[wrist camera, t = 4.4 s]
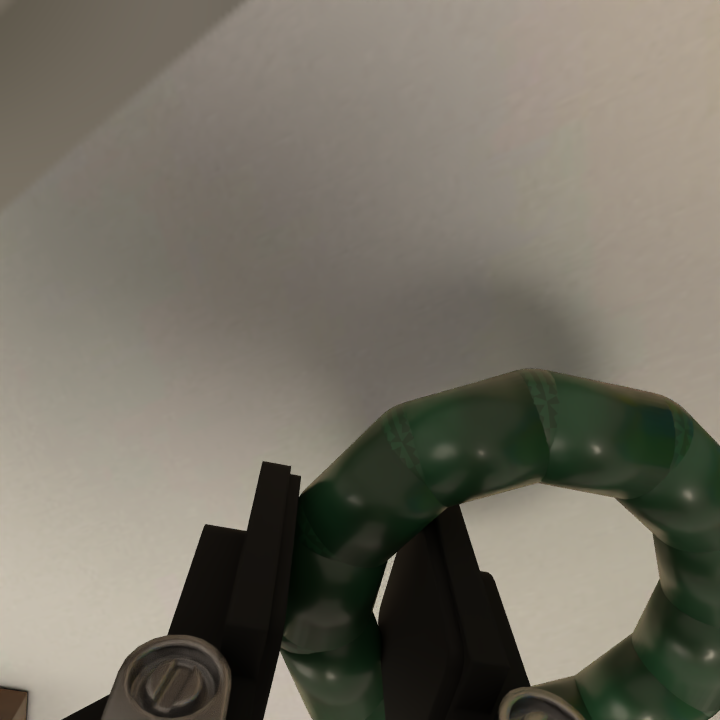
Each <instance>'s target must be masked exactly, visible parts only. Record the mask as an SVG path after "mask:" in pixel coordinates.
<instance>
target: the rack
mask: <svg viewBox="0 0 720 720" xmlns="http://www.w3.org/2000/svg"><path fill="white" fill-rule="evenodd" d="M26 705H27V693H26V692H22V691H16V690H9V689H3V688H0V720H26Z"/></svg>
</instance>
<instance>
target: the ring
mask: <svg viewBox="0 0 720 720" xmlns="http://www.w3.org/2000/svg"><path fill="white" fill-rule="evenodd" d="M535 483H541V484H546V485H551V486H557V487H562V488H567V489H572V490H578V491H583V492H588V493H593V494H598V495H604V496H609V497H614V498H615V499H617V500H618V501H619V502H620V503H621V504H622V505H623V506H624V507H625V508H626V509H627V510H628V511H630V512H631V513H632V514H633V515H634V516H635V517H636V518H637V519H638V520H639V521H640V522H642V523H643V524H644V525H645V526H646V527H647V528H648V529H649V530H650V531H651V532H652V533H653V539H654V545H655V551H656V558H657V564H658V571H659V577H660V579H659V581H658V583H657V585H656V587H655V589H654V591H653V593H652V595H651V597H650V599H649V601H648V603H647V605H646V607H645V609H644V611H643V614H642V616H641V618H640V620H639V622H638V624H637V626H636V628H635V630H634V632H633V633H632V634H631V635H629V636H628V637H627V638H625V639H624V640H622V641H621V642H620V643H618V644H617V645H616V646H614V647H613V648H612V649H610V650H609V651H608V652H606V653H605V654H603V655H602V656H601V657H599V658H598V659H597V660H595V661H594V662H593V663H591V664H590V665H589V666H587V667H586V668H584V669H583V670H582V671H580V672H579V673H578V674H576V675H575V676H571V677H567V678H562V679H558V680H554V681H550V682H546V683H542V684H538V685H534V686H531V687H535V688H539V689H542V690H545V691H549V692H551V693H553V694H555V695H557V696H558V697H560V698H562V699H564V700H566V701H567V702H568V703H569V704H570V705H572V706H573V707H574V708H575V709H577V710H578V711H579V712H580V713H581V715H582V716H583V717H584V718H585V719H586V720H708V719H709V718H711V717H713V716H714V715H715V714H716V713H717V712H718V711H719V710H720V445H719V444H718V443H717V442H716V441H715V440H714V439H713V438H712V437H711V436H710V435H709V434H708V433H707V432H706V431H705V430H704V429H703V428H702V427H701V426H700V425H699V424H698V423H697V422H696V421H695V420H694V419H693V417H692V416H691V415H690V414H689V413H688V412H687V411H686V410H685V409H684V408H682V407H681V406H680V405H679V404H677V403H676V402H674V401H672V400H671V399H669V398H667V397H665V396H662V395H659V394H655V393H652V392H647V391H642V390H638V389H633V388H628V387H624V386H619V385H614V384H610V383H605V382H600V381H595V380H591V379H586V378H581V377H577V376H572V375H567V374H562V373H558V372H553V371H548V370H543V369H534V368H530V369H521V370H516V371H513V372H509V373H506V374H502V375H499V376H495V377H492V378H488V379H485V380H481V381H478V382H474V383H471V384H467V385H464V386H460V387H457V388H454V389H450V390H447V391H443V392H440V393H436V394H433V395H429V396H426V397H422V398H419V399H415V400H412V401H408V402H405V403H402V404H399V405H397V406H395V407H393V408H391V409H389V410H388V411H387V412H385V413H384V414H383V415H382V416H381V417H380V418H379V419H378V420H377V421H376V422H374V423H373V424H372V425H371V426H370V427H369V428H368V429H367V430H366V431H365V432H364V433H363V434H362V435H361V436H360V437H359V438H358V439H357V440H356V441H355V442H354V443H353V444H352V445H351V446H350V447H349V448H348V449H347V450H345V451H344V452H343V453H342V454H341V455H340V456H339V457H338V458H337V459H336V460H335V461H334V462H333V463H332V464H331V465H330V466H329V467H328V468H327V469H326V470H325V471H324V472H323V473H322V474H321V475H320V476H319V477H318V478H316V479H315V480H314V481H313V482H312V483H311V484H310V485H309V486H308V487H307V488H306V489H305V490H304V491H303V492H302V494H301V495H300V497H299V499H298V509H297V518H296V527H295V536H294V546H293V555H292V564H291V573H290V583H289V592H288V601H287V610H286V619H285V626H284V632H283V637H282V643H281V647H280V652H281V654H282V656H283V658H284V661H285V663H286V665H287V667H288V669H289V671H290V674H291V676H292V678H293V680H294V682H295V684H296V687H297V689H298V691H299V693H300V695H301V697H302V700H303V702H304V704H305V706H306V708H307V710H308V712H309V714H310V716H311V718H312V719H313V720H385V709H384V696H383V683H382V670H381V655H382V636H381V632H380V629H379V626H378V624H377V621H376V618H375V616H374V613H373V608H374V604H375V601H376V598H377V594H378V591H379V588H380V584H381V581H382V578H383V575H384V571H385V568H386V565H387V561H388V559H390V558H391V557H392V556H393V555H394V554H395V553H396V552H397V551H399V550H400V549H401V548H402V547H403V546H404V545H405V544H407V543H408V542H409V541H410V540H411V539H412V538H413V537H415V536H416V535H417V534H418V533H419V532H420V531H421V530H422V529H424V528H425V527H426V526H427V525H428V524H429V523H430V522H432V521H433V520H434V519H435V518H436V517H437V516H438V515H439V514H441V513H442V512H443V511H444V510H445V509H446V508H447V507H450V506H454V505H458V504H462V503H465V502H469V501H473V500H476V499H480V498H484V497H487V496H491V495H495V494H498V493H502V492H506V491H509V490H513V489H517V488H520V487H524V486H528V485H531V484H535Z"/></svg>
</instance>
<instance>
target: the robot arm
mask: <svg viewBox="0 0 720 720" xmlns="http://www.w3.org/2000/svg"><path fill="white" fill-rule="evenodd" d="M290 471H291V466H287V465H281V464H276V463H270V462H265V461H263V462H262V466H261V471H260V475H259V479H258V484H257V488H256V493H255V497H254V501H253V506H252V510H251V515H250V519H249V523H248V528H247V531H242V530H237V529H231V528H225V527H219V526H213V525H207V524H206V525H205V526H204V528H203V531H202V534H201V537H200V540H199V543H198V546H197V549H196V552H195V555H194V558H193V561H192V564H191V567H190V570H189V573H188V576H187V579H186V582H185V585H184V587H183V590H182V593H181V596H180V599H179V602H178V605H177V608H176V611H175V614H174V617H173V620H172V623H171V626H170V629H169V632H168V635H167V636H163V637H159V638H155V639H152V640H150V641H148V642H146V643H144V644H142V645H140V646H139V647H137V648H136V649H135V650H134V651H133V652H132V653H131V654H130V655H129V656H128V657H127V658H126V659H125V661H124V663H123V664H122V666H121V668H120V670H119V671H118V674H117V677H116V679H115V682H114V685H113V687H112V690H111V693H110V694H109V695H107V696H105V697H104V698H102V699H100V700H98V701H96V702H94V703H92V704H90V705H89V706H87V707H85V708H83V709H81V710H79V711H77V712H75V713H73V714H72V715H70V716H68V717H66V718H64V719H62V720H263V718H264V714H265V710H266V706H267V701H268V697H269V693H270V689H271V685H272V681H273V677H274V672H275V668H276V664H277V660H278V656H279V652H280V647H281V643H282V637H283V632H284V626H285V619H286V610H287V601H288V592H289V583H290V573H291V564H292V555H293V546H294V536H295V527H296V518H297V509H298V499H299V490H300V481H301V476H298V475H293V474H290ZM378 626H379V629H380V632H381V636H382V655H381V670H382V683H383V696H384V709H385V720H586V719H585V718H584V717H583V716H582V715H581V713H580V712H579V711H578V710H577V709H575V708H574V707H573V706H572V705H570V704H569V703H568V702H567V701H566V700H564V699H562V698H560V697H558V696H557V695H555V694H553V693H551V692H549V691H545V690H542V689H539V688H535V687H531V686H530V683H529V680H528V677H527V675H526V672H525V669H524V666H523V663H522V660H521V657H520V654H519V651H518V648H517V645H516V642H515V639H514V636H513V633H512V630H511V627H510V625H509V622H508V619H507V616H506V613H505V610H504V607H503V604H502V601H501V598H500V595H499V592H498V589H497V586H496V583H495V581H494V579H493V577H492V575H491V574H489V573H488V572H482V571H480V570H479V567H478V564H477V560H476V557H475V554H474V551H473V548H472V545H471V541H470V538H469V535H468V532H467V529H466V525H465V522H464V519H463V516H462V513H461V510H460V506H459V504H458V505H454V506H450V507H447V508H446V509H445V510H444V511H443V512H442V513H441V514H439V515H438V516H437V517H436V518H435V519H434V520H433V521H432V522H430V523H429V524H428V525H427V526H426V527H425V528H424V529H422V530H421V531H420V532H419V533H418V534H417V535H416V536H415V537H413V538H412V539H411V540H410V541H409V542H408V543H407V544H405V545H404V546H403V547H402V548H401V549H400V550H399V551H397V554H396V557H395V560H394V564H393V567H392V570H391V573H390V577H389V580H388V583H387V586H386V590H385V593H384V596H383V599H382V603H381V606H380V611H379V618H378Z"/></svg>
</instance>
